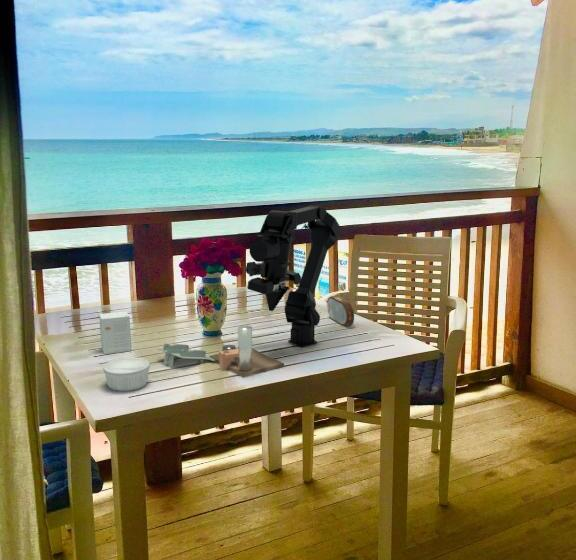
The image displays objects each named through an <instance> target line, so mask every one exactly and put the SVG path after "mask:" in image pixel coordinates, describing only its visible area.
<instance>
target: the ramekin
mask: <svg viewBox="0 0 576 560" xmlns="http://www.w3.org/2000/svg"><path fill="white" fill-rule="evenodd" d="M150 367H151V365H150V361H149V360H147V359H146V358H141V357H132V356H131V357H128V356H127V357H119V358H116V359H113V360H110V361H107V362H105V364H104V365H103V367H102V370H103V373H104V375H105V380H106V384H107V386H108V387H109V388H110V389H111V390H114V391H116V390H118V391H117V392H130V391H135V390H139V389H142V388H143V387H144V386H145V385H146V384H147V383H148V381H149V371H150Z"/></svg>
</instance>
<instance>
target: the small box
mask: <svg viewBox="0 0 576 560" xmlns="http://www.w3.org/2000/svg"><path fill="white" fill-rule="evenodd" d="M98 317H99V331H100V343H101V344H100V346H101V350H102V354H103V355H107V354H108V355H109V354H116V353H117V354H118V353H124V352H126V353H127V352H132V336H131V335H132V334H131V321H130V320H131V318H130V315H129V313H128V311H118V312H110V313H109V312H107V313H99V315H98Z"/></svg>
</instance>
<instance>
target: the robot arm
mask: <svg viewBox="0 0 576 560" xmlns="http://www.w3.org/2000/svg"><path fill="white" fill-rule="evenodd" d="M303 224H306V225H307V226H306V227H307V228H308V230H309V231H310V232H309V233H310V234H309V237H310V241H311V248H310V250H309V253H308V256H307V258H306V259H307V260H306V262H305V265H304V269H303V270H302V271H303V272H302V274H300V273H299V272H297V271H293V270H289V269H288V267H290V266H292V260H291V261H290V253H291V248H292V241H296V237H295V235H294V234H293V232H294V231H295V230H297V228H298V226H301V225H303ZM340 233H341V225H340V224H339V222H338V220H337V219H336V217H334V216H333V215H332V214H330V213H329V212H328V211H327V210H326V208H325V207H324V206H322V205H311V204H309V205H307V206H305V207H301V208H297V209H292V210H289V211H288V210H287V211H286V210H285V211H284V210H283V211H282V210H270V211H268V212H267V215H266V217H265V219H264V221H263V223H262V226H261V229H260V231H259V233H258V235H256V236H255V240H253V241H252V243H251V244H250V247H249V255H250V256H251V258H252V260H254V261H249V262H247V263H246V265H245V273H246V274H248V275H249V277H251V279H249V280H248V281H247V287H246V289H247V290H250V291H253V292H256V293H258V294H261V295H265V297H266V303H267V307H268V310H269V311H270V312H273V311H275V309H276V308H277V307H278V304H279V303H280V301H282V299H283V297H284V296H285V294H286V293H287V292H288V290H290V286H287V285H286V282H288V281H289V282H290V281H291V282H292V283H293V285H295V286H296V285H298V286H297V288H296V290H295V291H293V290H291V291H289V293H288V295H287V296H288V297H287V299H286V301H285V303H284V304H285V305H284V314H285V318H286V319H285V320H286V322H287V323H291V328H290V339H288V343H290V344H293V345H295V346H297V347H299V348H303V347H308V346H312V345H316V344H319V342H318V341H317V340H315V327H317V326H318V324H320V320H321V315H320V314H319V312H318V311H317V310H316V306H317V302H316V298H315V295H314V294H315V290H316V287H317V285H318V282H319V278H320V275H321V272H322V268H323V265H324V263H325V259H326V255H327V253H328V251H329V250H330V249H331V248H332V247H333V246H334V245H335V244H336V243H337V240H338V238H339V236H340V235H341V234H340ZM256 262H257V263H256ZM254 276H257V277H254ZM258 276H260V277H258ZM252 277H254V278H252Z"/></svg>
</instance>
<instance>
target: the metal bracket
mask: <svg viewBox="0 0 576 560" xmlns="http://www.w3.org/2000/svg"><path fill="white" fill-rule="evenodd" d="M156 350H158V351H161V352H164V353H165V354H164V359H163V366H165V367H168V368H170V369H173V365H174V359H175V357H178V358H180V359H187V360H188V359H189V360H190V359H191V360H193V359H195V360H209V361H211V362H214V361H216V360H215V359H213V358H210V356H211V355H208V354H207V352H206V350H203V349H190V345H188V344H184V343H183V344H181V343H180V344H179V343H176V344H172V345H170V344H168V343H164V344H163V347H162V348H157V349H156Z"/></svg>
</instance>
